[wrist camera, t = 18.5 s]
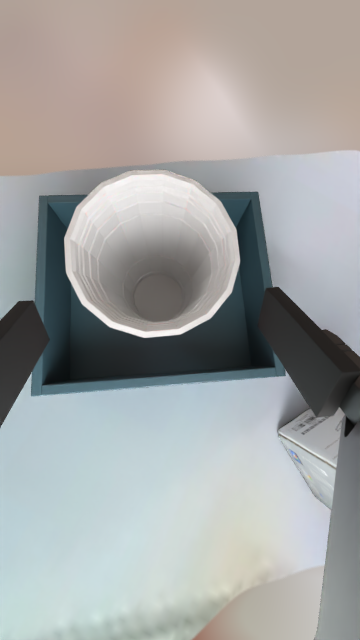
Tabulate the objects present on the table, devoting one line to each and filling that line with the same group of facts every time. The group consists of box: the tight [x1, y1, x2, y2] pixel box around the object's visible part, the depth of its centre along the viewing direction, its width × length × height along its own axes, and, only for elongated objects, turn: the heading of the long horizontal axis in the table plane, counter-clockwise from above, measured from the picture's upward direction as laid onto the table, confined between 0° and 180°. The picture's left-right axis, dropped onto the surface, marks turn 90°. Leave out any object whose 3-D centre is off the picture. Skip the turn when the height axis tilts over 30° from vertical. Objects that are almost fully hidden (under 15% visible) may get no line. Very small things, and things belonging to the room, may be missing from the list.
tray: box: [31, 192, 286, 396], centre depth 23 cm, size 21×18×6 cm
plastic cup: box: [64, 170, 240, 338], centre depth 20 cm, size 11×11×12 cm
